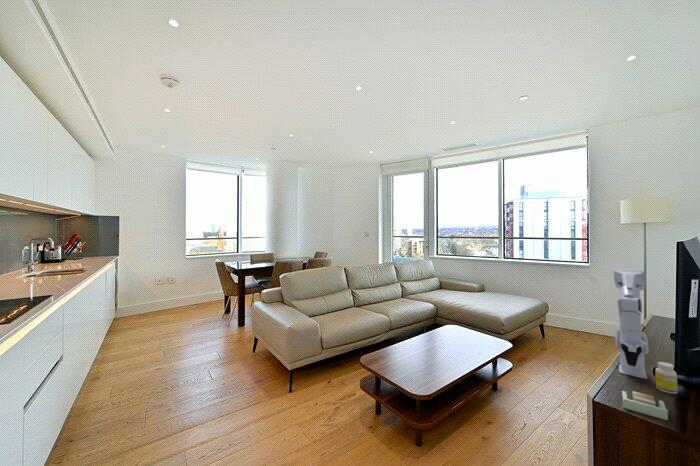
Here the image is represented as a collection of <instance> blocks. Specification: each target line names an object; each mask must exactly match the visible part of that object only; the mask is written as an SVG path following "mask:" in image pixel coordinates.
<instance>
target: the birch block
mask: <svg viewBox="0 0 700 466" xmlns="http://www.w3.org/2000/svg"><path fill="white" fill-rule="evenodd" d="M631 393H632V400H634V401H638V402H641V403H645V404H649V405H652V406H656V401H655V397H654V395H649V394H645V393H641V392H638V391H635V390H633V391H632V392H631ZM656 407H657V406H656Z"/></svg>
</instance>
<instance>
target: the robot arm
mask: <svg viewBox="0 0 700 466" xmlns="http://www.w3.org/2000/svg"><path fill="white" fill-rule="evenodd" d="M646 278H647V277H646V270H644V269H632V268H631V269H630V268H628V269H627V268H615V269H614V270H613V280H614V286H615V288H616V289H619V296H618V297H617V302H616V303H617V310H618V316H619V328H618V329H616V330H615V336H614V337H615V341H614V342H615V344H614V345H615V347H616V348H617V349H619V357H620V358H619V359H620V361H619V363H620V364H618V368H619V374H623V375H627V376H631V377H635V378H640V379H644V380H648V376H647V373H646V370H645V369H646V368H645V366H646V365H645V355H648V354H649V339H648V335H647V334H646V333H645V332H644V331H642V313H643V302H642V299H641V296H640V295H641V294H640V292H641V291H644V290H645V288H646V283H647V281H646V280H647V279H646Z"/></svg>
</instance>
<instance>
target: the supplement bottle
mask: <svg viewBox="0 0 700 466" xmlns="http://www.w3.org/2000/svg"><path fill="white" fill-rule="evenodd" d="M654 370H655V372H654V374H655V388H656V389H658V390H659V391H660V392H661V391H662V392H664V393H668V394H672V395H673V394H675V395H676V394H678V390H679V388H678V387H679V386H678V375H677V372H676V371H675V370H674V365H673V364H672V363H670V362H666V361H665V362H664V361H658V362H657V367H656V368H655V369H654Z"/></svg>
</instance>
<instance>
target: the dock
mask: <svg viewBox="0 0 700 466" xmlns="http://www.w3.org/2000/svg"><path fill="white" fill-rule="evenodd" d="M621 392H622V393H621V396H622V403H623V404H622V405H623V408H624V409H627V410H631V411H634V412H637V413H641V414H644V415H648V416H652V417H654V418H659V419H662V420H666V421H668V420H669V414H668V413H669V411H668V409H667V408H666V405H665V403H664V401H663V400H658V406H652V405H649V404H645V403H641V402H638V401H634V400H633V399H629V398H628V396H627V391H624V390H622V391H621Z"/></svg>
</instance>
